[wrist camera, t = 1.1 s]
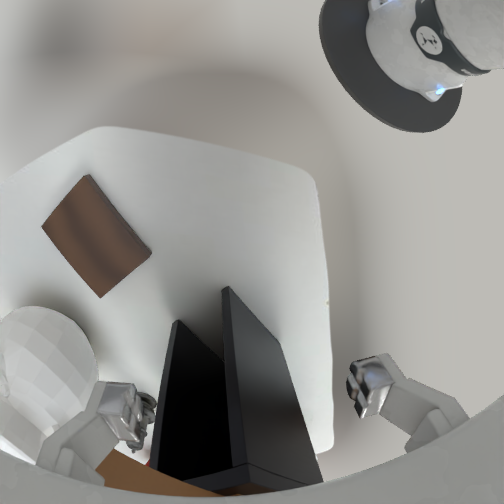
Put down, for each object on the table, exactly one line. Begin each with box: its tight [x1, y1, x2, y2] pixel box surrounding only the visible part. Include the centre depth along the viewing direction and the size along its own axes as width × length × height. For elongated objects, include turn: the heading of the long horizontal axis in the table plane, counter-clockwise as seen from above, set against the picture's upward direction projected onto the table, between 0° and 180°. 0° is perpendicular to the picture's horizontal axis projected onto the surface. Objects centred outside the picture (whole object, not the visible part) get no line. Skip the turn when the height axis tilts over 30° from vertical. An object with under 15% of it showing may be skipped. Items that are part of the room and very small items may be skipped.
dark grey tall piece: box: [126, 393, 157, 453], centre depth 37 cm, size 6×6×12 cm
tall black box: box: [149, 286, 323, 496], centre depth 27 cm, size 10×13×26 cm
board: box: [41, 175, 151, 298], centre depth 31 cm, size 10×13×2 cm
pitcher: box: [0, 306, 98, 465], centre depth 25 cm, size 19×18×25 cm
